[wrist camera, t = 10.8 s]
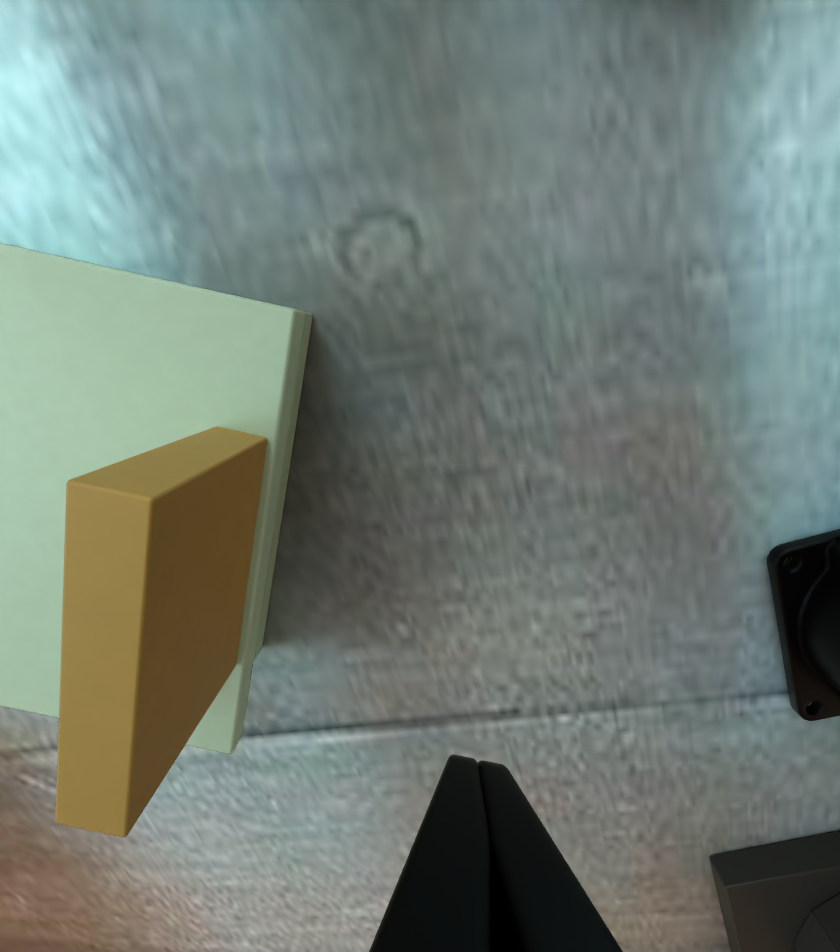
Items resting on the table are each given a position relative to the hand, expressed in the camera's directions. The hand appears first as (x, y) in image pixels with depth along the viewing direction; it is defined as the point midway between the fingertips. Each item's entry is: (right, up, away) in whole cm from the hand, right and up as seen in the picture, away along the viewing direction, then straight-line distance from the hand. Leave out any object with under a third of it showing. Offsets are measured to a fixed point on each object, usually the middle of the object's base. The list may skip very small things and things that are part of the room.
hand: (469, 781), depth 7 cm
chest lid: (-10, +4, +5) cm, 12 cm away
